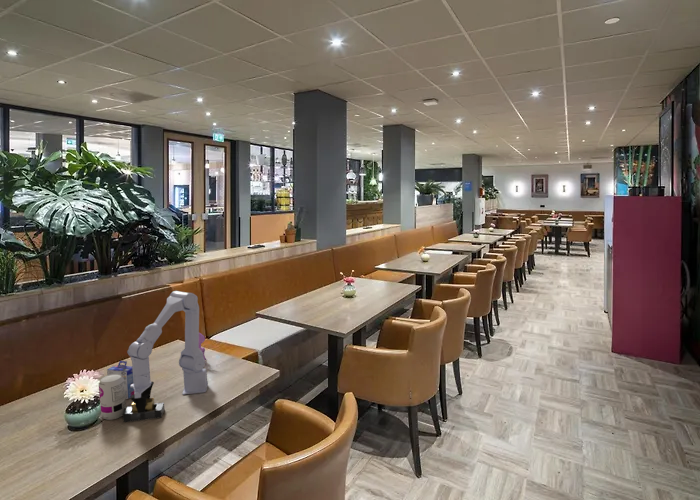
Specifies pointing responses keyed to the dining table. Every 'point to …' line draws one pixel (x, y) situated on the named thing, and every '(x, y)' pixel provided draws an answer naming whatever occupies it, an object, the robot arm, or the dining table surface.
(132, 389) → the ink cartridge box
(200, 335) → the toy chair
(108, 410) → the supplement can
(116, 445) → the dining table surface
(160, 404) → the rail
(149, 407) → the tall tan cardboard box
